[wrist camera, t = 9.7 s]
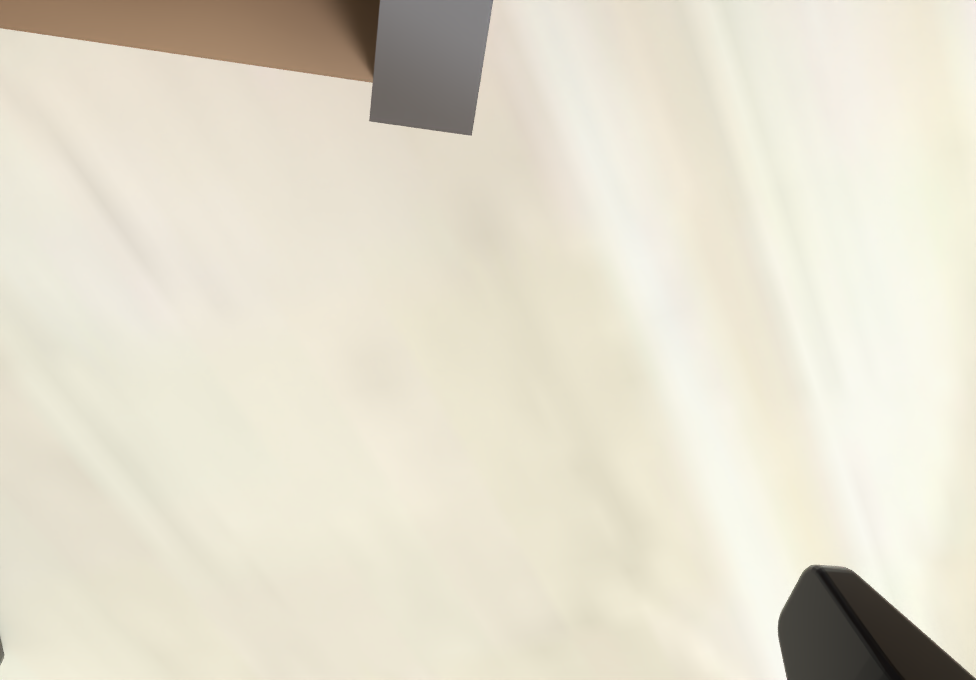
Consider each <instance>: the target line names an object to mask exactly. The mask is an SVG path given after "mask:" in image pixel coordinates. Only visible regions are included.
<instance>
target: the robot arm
mask: <svg viewBox="0 0 976 680" xmlns="http://www.w3.org/2000/svg"><path fill="white" fill-rule="evenodd" d="M778 637H779V643H780V647H781V652H782V657H783V662H784V667H785V672H786V677H787V680H976V678H974V677H973V676H972V675H971V674H970V673H969V672H968V671H967V670H965V669H964V668H963V667H962V666H961V665H960V664H959V663H957V662H956V661H955V660H954V659H953V658H952V657H951V656H949V655H948V654H947V653H946V652H945V651H944V650H943V649H941V648H940V647H939V646H938V645H937V644H936V643H935V642H934V641H932V640H931V639H930V638H929V637H928V636H927V635H926V634H924V633H923V632H922V631H921V630H920V629H919V628H918V627H916V626H915V625H914V624H913V623H912V622H911V621H910V620H908V619H907V618H906V617H905V616H904V615H903V614H902V613H901V612H899V611H898V610H897V609H896V608H895V607H894V606H893V605H891V604H890V603H889V602H888V601H887V600H886V599H885V598H883V597H882V596H881V595H880V594H879V593H878V592H877V591H875V590H874V589H873V588H872V587H871V586H870V585H869V584H868V583H866V582H865V581H864V580H863V579H862V578H861V577H860V576H858V575H857V574H856V573H855V572H853V571H852V570H850V569H848V568H845V567H840V566H827V565H811V566H809V567H808V568H807V569H805V570H804V571H803V573H802V575H801V576H800V578H799V580H798V582H797V584H796V586H795V587H794V589H793V591H792V593H791V595H790V597H789V598H788V600H787V602H786V604H785V606H784V608H783V609H782V611H781V614H780V617H779V621H778ZM3 659H4V652H3V648H2V644H1V639H0V665H1V663H2V661H3Z"/></svg>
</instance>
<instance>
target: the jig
mask: <svg viewBox="0 0 976 680" xmlns="http://www.w3.org/2000/svg"><path fill="white" fill-rule="evenodd" d="M492 4H493V0H0V28H3V29H10V30H17V31H24V32H31V33H38V34H44V35H51V36H58V37H65V38H72V39H79V40H85V41H92V42H99V43H106V44H113V45H119V46H126V47H133V48H140V49H147V50H154V51H160V52H167V53H174V54H181V55H188V56H195V57H201V58H208V59H215V60H222V61H229V62H235V63H242V64H249V65H256V66H263V67H270V68H276V69H283V70H290V71H297V72H304V73H311V74H317V75H324V76H331V77H338V78H345V79H352V80H358V81H365V82H372V83H373V86H372V98H371V109H370V120H369V121H371V122H378V123H385V124H393V125H400V126H407V127H414V128H421V129H428V130H435V131H443V132H450V133H457V134H464V135H471V136H472V130H473V123H474V117H475V111H476V104H477V98H478V92H479V86H480V79H481V73H482V67H483V60H484V54H485V48H486V41H487V35H488V29H489V23H490V16H491V10H492Z"/></svg>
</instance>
